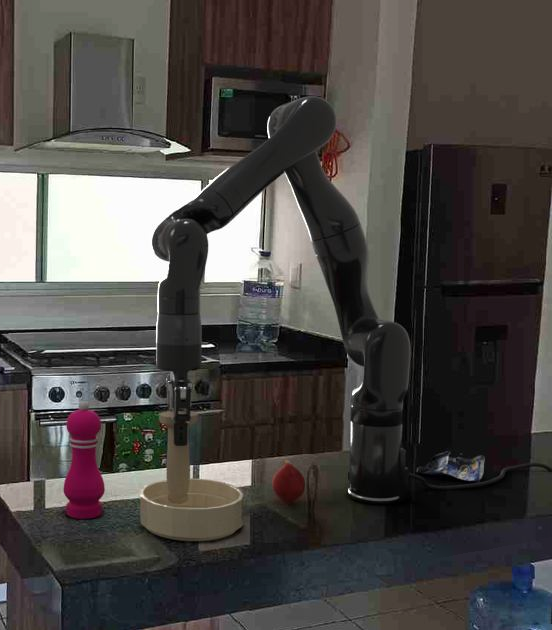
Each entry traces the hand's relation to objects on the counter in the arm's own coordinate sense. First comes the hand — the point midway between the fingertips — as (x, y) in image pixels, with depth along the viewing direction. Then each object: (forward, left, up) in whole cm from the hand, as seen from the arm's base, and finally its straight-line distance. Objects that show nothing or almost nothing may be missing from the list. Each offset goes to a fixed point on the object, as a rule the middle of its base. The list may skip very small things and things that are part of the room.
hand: (178, 440), depth 138 cm
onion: (-21, -10, -15) cm, 27 cm away
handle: (0, 0, -11) cm, 11 cm away
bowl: (-2, 0, -14) cm, 14 cm away
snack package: (-58, -26, -15) cm, 65 cm away
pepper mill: (+16, -7, -15) cm, 22 cm away
